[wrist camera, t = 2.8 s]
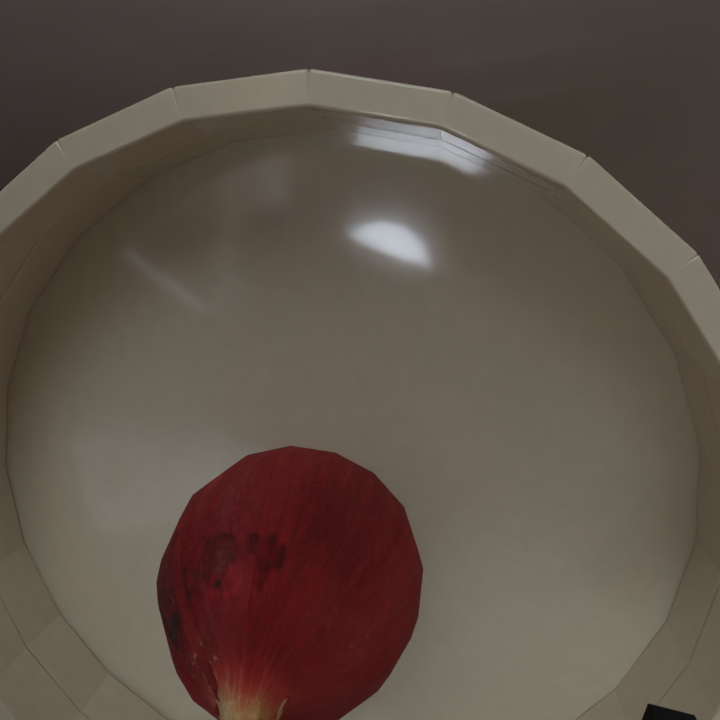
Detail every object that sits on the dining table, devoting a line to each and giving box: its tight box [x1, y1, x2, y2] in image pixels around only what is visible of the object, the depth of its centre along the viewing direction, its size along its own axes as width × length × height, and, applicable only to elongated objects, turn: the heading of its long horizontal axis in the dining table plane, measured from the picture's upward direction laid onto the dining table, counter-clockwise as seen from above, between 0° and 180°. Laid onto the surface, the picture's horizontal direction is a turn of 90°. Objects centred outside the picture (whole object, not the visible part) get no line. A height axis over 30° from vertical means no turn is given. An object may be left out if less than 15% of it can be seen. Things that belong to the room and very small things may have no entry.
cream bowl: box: [0, 69, 720, 720], centre depth 16 cm, size 21×21×4 cm
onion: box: [156, 446, 423, 720], centre depth 13 cm, size 6×6×8 cm
